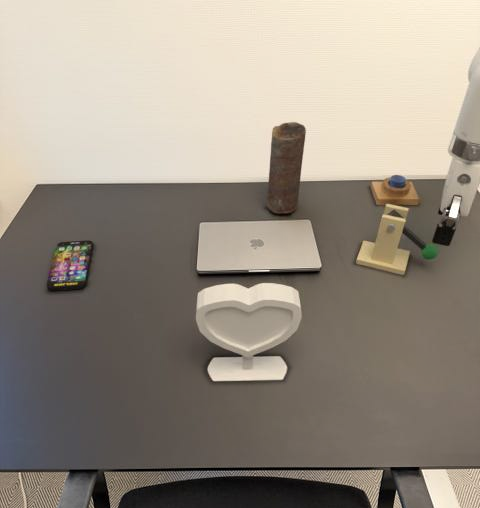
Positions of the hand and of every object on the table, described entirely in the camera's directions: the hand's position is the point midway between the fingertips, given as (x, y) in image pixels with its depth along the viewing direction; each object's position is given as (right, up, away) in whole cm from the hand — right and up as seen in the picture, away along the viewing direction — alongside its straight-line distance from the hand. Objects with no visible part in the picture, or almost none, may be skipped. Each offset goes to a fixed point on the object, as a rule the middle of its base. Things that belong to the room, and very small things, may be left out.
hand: (443, 228), depth 91 cm
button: (-1, +16, +24) cm, 29 cm away
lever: (-6, -2, +4) cm, 7 cm away
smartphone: (-75, -6, +8) cm, 75 cm away
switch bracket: (-9, -5, +10) cm, 14 cm away
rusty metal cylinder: (-29, +9, +23) cm, 38 cm away
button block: (-1, +13, +27) cm, 30 cm away
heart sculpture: (-38, -26, -10) cm, 47 cm away
